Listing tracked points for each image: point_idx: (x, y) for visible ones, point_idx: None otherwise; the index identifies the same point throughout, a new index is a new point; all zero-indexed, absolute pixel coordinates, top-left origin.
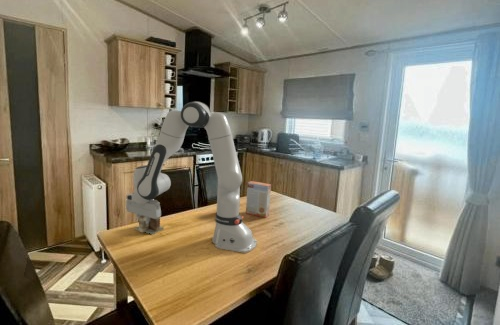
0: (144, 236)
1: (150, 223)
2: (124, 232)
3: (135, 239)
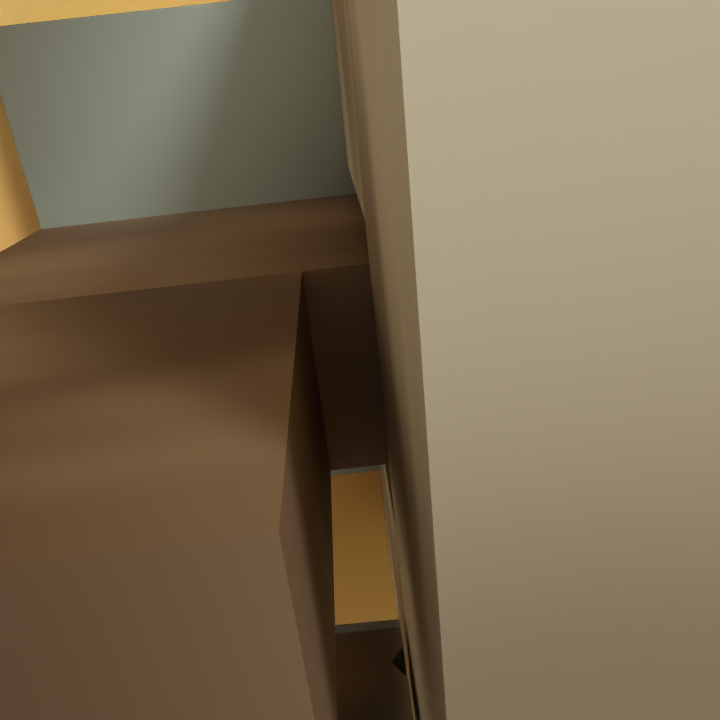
0: None
1: None
2: None
3: None
